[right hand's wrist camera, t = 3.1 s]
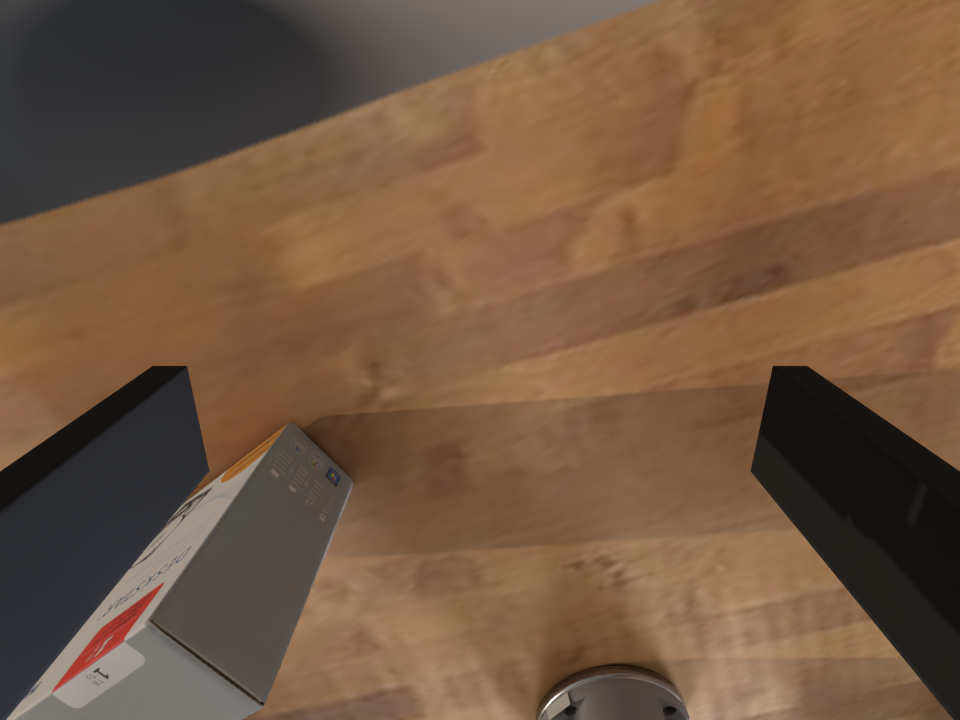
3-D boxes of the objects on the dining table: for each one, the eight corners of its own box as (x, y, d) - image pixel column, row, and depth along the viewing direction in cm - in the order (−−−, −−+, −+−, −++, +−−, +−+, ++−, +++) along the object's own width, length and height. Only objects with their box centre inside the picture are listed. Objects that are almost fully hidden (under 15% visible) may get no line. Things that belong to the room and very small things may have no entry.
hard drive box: (291, 416, 44) (153, 618, 25) (357, 480, 46) (274, 710, 28) (163, 516, 47) (-41, 758, 29) (230, 571, 50) (81, 829, 31)
